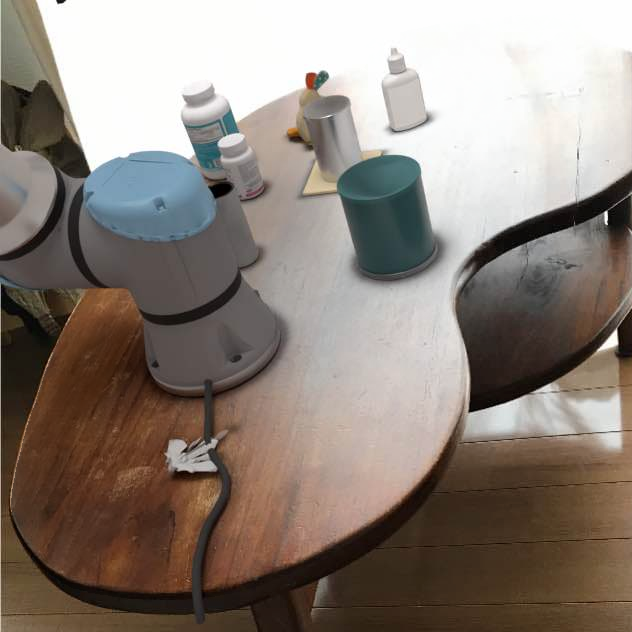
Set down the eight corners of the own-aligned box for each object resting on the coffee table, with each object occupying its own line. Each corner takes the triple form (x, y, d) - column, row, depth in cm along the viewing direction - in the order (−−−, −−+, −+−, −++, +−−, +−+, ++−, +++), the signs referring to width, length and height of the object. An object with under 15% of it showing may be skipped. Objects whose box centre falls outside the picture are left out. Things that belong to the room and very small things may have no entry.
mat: (371, 188, 121) (370, 185, 120) (303, 196, 123) (302, 193, 123) (382, 152, 128) (381, 150, 128) (317, 160, 131) (316, 158, 130)
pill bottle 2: (267, 181, 129) (250, 129, 124) (261, 198, 126) (243, 145, 120) (237, 186, 130) (218, 134, 125) (230, 202, 127) (211, 150, 121)
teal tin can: (433, 276, 102) (415, 194, 95) (350, 283, 104) (327, 204, 97) (441, 228, 109) (426, 149, 102) (364, 236, 112) (344, 159, 105)
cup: (362, 180, 122) (345, 114, 116) (315, 186, 124) (296, 121, 118) (369, 156, 127) (354, 91, 121) (325, 162, 129) (307, 98, 123)
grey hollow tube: (253, 267, 112) (227, 198, 105) (221, 269, 113) (193, 201, 107) (263, 247, 115) (238, 178, 109) (231, 249, 117) (205, 182, 110)
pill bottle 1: (229, 153, 139) (201, 72, 131) (259, 161, 135) (231, 78, 126) (194, 176, 136) (162, 95, 128) (223, 185, 131) (192, 102, 123)
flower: (208, 424, 92) (203, 404, 91) (255, 454, 87) (250, 433, 86) (148, 461, 88) (141, 440, 87) (194, 495, 83) (188, 473, 82)
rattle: (327, 120, 141) (308, 51, 133) (347, 136, 134) (329, 65, 127) (285, 137, 139) (264, 68, 132) (303, 155, 133) (282, 83, 126)
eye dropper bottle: (425, 128, 131) (410, 50, 123) (389, 133, 132) (371, 56, 125) (428, 115, 134) (414, 38, 126) (393, 119, 135) (376, 44, 128)
